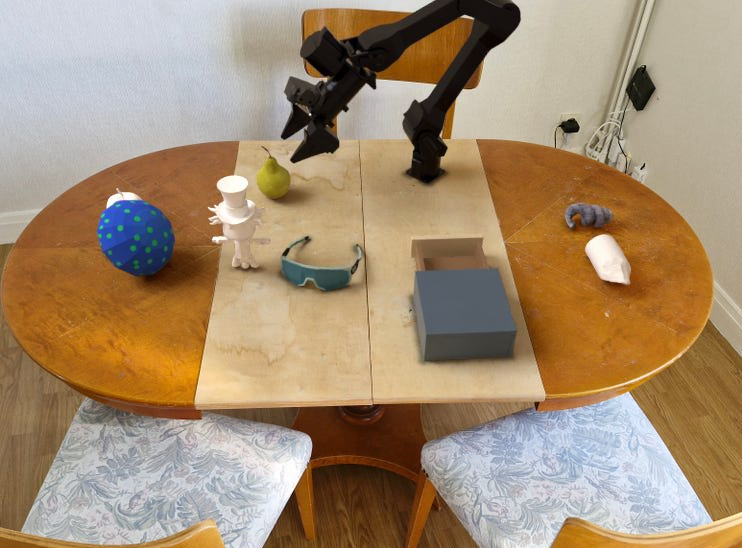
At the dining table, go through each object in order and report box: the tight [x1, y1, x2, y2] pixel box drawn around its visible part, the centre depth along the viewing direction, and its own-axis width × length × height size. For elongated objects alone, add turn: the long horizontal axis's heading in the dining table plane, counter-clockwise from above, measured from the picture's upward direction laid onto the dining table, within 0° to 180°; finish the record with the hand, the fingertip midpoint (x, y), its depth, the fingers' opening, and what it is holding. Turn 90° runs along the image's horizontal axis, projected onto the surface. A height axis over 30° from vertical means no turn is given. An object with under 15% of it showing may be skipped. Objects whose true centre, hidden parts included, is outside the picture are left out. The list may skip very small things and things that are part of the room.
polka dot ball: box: [96, 199, 176, 278], centre depth 124 cm, size 14×14×15 cm
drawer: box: [409, 233, 489, 271], centre depth 125 cm, size 16×13×4 cm
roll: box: [584, 234, 632, 286], centre depth 127 cm, size 6×12×6 cm, turn 8°
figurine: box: [207, 175, 271, 270], centre depth 121 cm, size 10×8×18 cm
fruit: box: [255, 145, 292, 200], centre depth 140 cm, size 7×7×12 cm
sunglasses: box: [280, 235, 362, 292], centre depth 128 cm, size 14×15×5 cm
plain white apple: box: [106, 187, 143, 209], centre depth 133 cm, size 7×7×8 cm
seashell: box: [563, 202, 615, 230], centre depth 138 cm, size 5×5×10 cm
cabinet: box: [412, 267, 518, 362], centre depth 117 cm, size 16×15×6 cm
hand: (286, 150), depth 138 cm, fingers open, 9 cm apart
